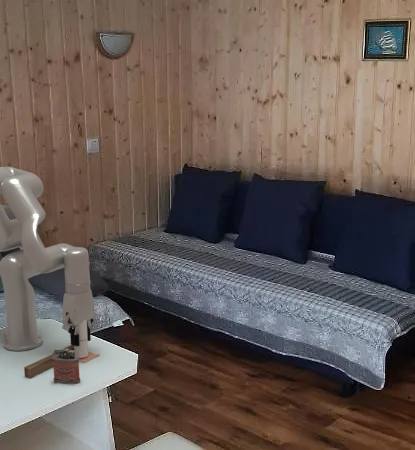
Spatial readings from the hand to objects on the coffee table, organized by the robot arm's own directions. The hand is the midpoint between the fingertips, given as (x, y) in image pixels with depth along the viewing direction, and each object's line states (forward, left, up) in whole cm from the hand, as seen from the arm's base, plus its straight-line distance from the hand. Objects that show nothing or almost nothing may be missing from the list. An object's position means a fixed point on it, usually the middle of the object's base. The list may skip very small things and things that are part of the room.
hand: (80, 342), depth 214 cm
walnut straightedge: (-4, -7, -5) cm, 10 cm away
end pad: (+1, +1, -5) cm, 5 cm away
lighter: (+8, -15, -5) cm, 18 cm away
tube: (0, 0, -5) cm, 5 cm away
